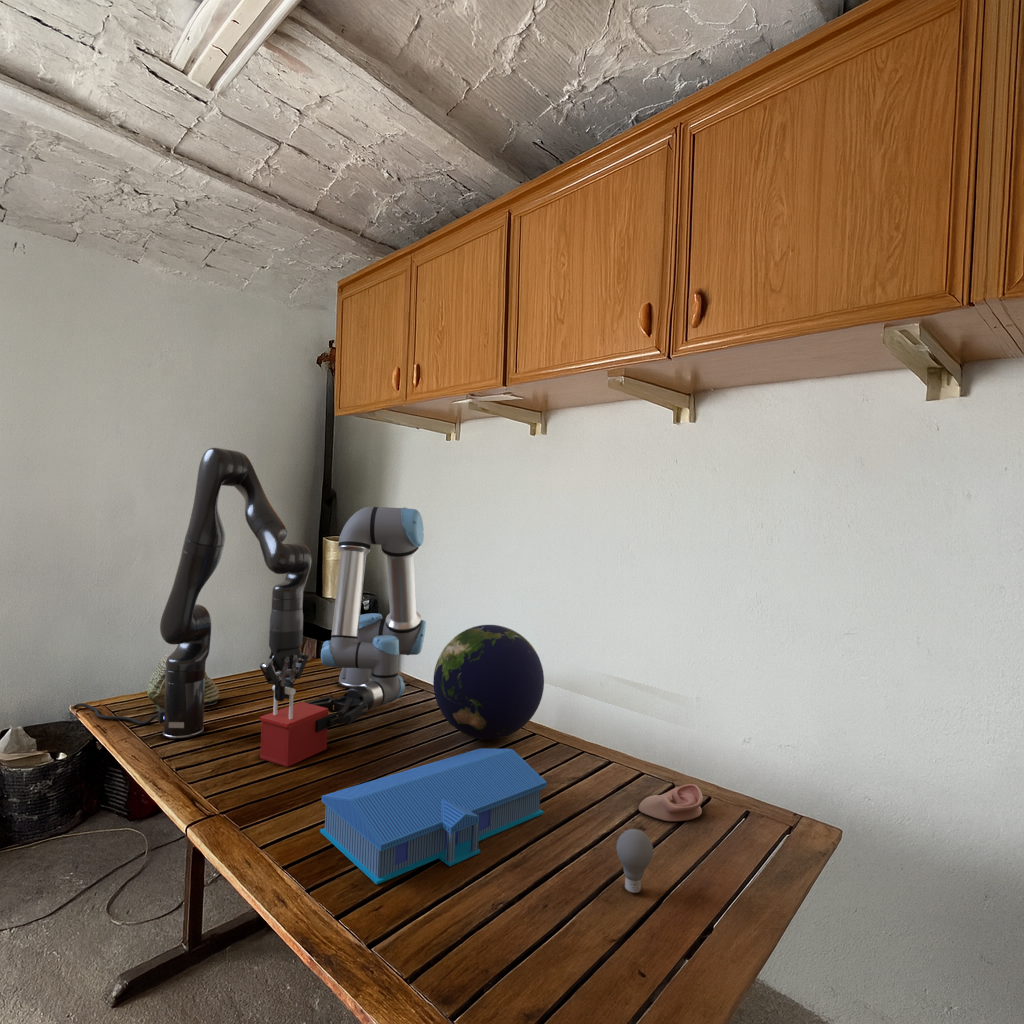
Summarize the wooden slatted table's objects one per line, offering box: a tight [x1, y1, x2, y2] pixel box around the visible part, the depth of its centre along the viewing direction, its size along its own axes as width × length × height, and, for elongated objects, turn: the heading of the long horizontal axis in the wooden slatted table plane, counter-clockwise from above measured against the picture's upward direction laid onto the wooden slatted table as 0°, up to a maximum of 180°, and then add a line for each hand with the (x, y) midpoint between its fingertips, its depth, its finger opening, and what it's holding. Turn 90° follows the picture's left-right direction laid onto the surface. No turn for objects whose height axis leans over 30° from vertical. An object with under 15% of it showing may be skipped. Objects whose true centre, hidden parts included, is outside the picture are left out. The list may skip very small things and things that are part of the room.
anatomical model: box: [638, 783, 704, 822], centre depth 135 cm, size 13×4×12 cm
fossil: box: [147, 654, 221, 711], centre depth 185 cm, size 9×18×15 cm, turn 132°
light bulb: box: [615, 828, 654, 894], centre depth 106 cm, size 6×6×10 cm
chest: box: [259, 712, 329, 768], centre depth 155 cm, size 13×9×9 cm
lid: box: [259, 684, 329, 728], centre depth 155 cm, size 13×9×8 cm
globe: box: [432, 624, 545, 740], centre depth 172 cm, size 30×30×30 cm
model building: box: [319, 747, 548, 885], centre depth 124 cm, size 39×24×10 cm, turn 132°
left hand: (283, 699), depth 151 cm, fingers closed on lid
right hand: (301, 722), depth 157 cm, fingers closed on chest, 9 cm apart
